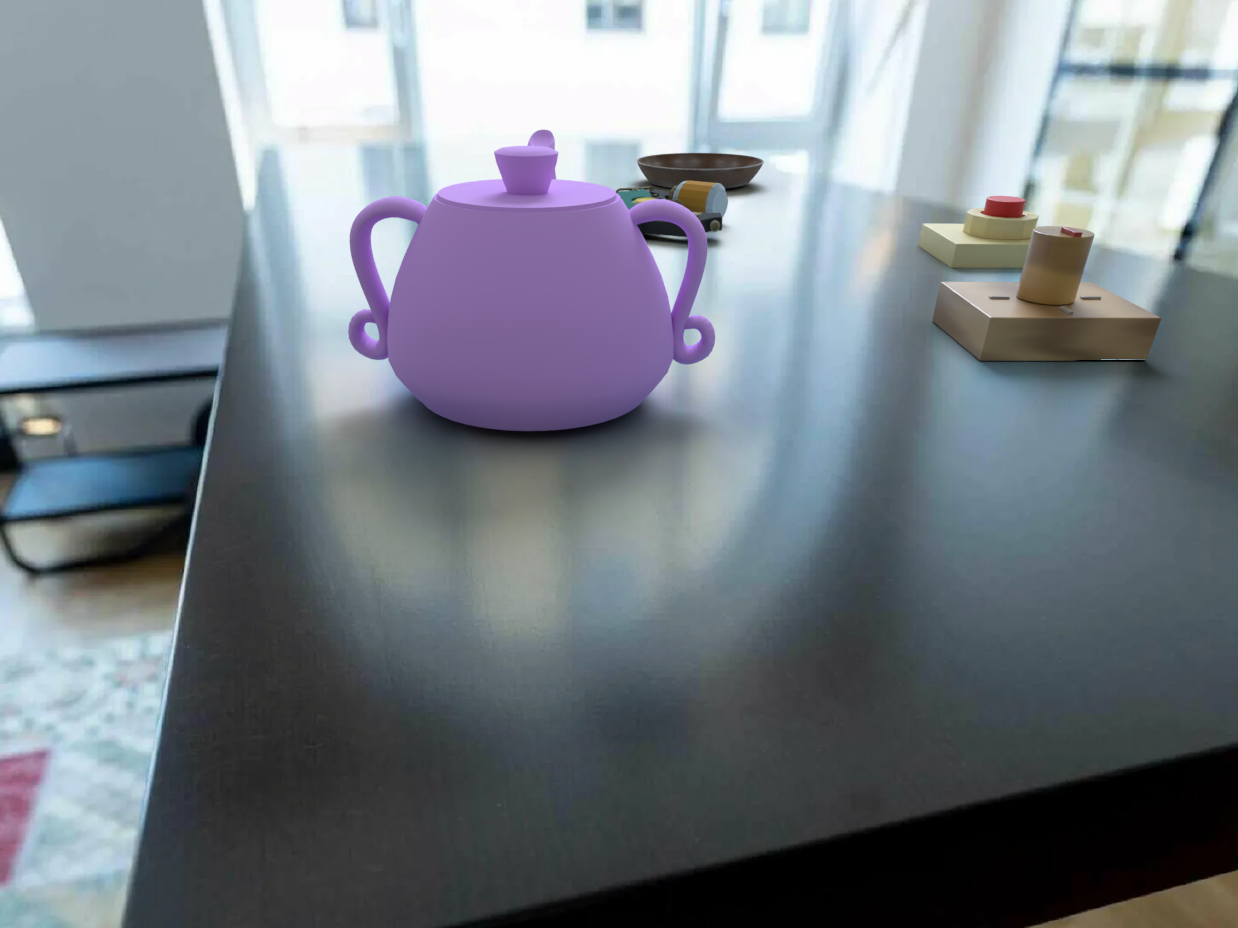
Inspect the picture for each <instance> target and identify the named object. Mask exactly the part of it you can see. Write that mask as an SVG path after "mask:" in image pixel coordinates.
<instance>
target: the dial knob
mask: <svg viewBox="0 0 1238 928" xmlns="http://www.w3.org/2000/svg"><path fill="white" fill-rule="evenodd" d="M1095 236H1096V235H1095V233H1094V232H1093V231H1090V230H1088V229H1085V228H1079V227H1071V226H1061V225H1043V226H1040V227H1036V228H1034V229H1033V232H1032V236H1031V239H1030V243H1029V247H1028V251H1027V255H1026V258H1025V262H1024V266H1023V268H1022V269H1021V273H1020V278H1019V281H1018V282H1019V285H1018V289H1017V292H1016V296H1017V297H1018V298H1020V299H1022V300H1025V301H1029V302H1033V303H1039V304H1047V305H1066V304H1071V303H1073V302H1074V301H1075V299H1076V295H1077V292H1078V289H1079V285H1080V282H1082V278H1083V275H1084V272H1085V269H1086V265H1087V262H1088V258H1089V255H1090V251H1091V248H1092V245H1093V242H1094V239H1095Z"/></svg>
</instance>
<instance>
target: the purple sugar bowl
mask: <svg viewBox="0 0 1238 928" xmlns="http://www.w3.org/2000/svg"><path fill="white" fill-rule="evenodd" d="M493 154H494V159H495V163H496V166H497V169H498V171H499V174H500V177H501V178H498V179H497V178H496V179H483V180H481V179H480V180H474V181H473V180H472V181H466V182H460V183H454V184H451V185H448V186H444V187H443V188H440V190H439V189H438V191H437V193H436V194H434V195H433V197H432V199H431V201H430V202H429V204H428V206H427V205H425V204H424V203H422V202H421V201H417V200H415V199H413V198H410V197H405V196H401V195H400V196H399V195H398V196H397V195H396V196H395V195H393V196H391V195H390V196H387V197H381V198H380V199H377V200H374V201H372V202H371V203H369V204H368V205H366V206H365V207H364V208H363V209H362V210H360V212H358V214H357V215H356V216H355V218H354V219H353V222H352V223H351V227H350V231H349V251H350V256H351V260H352V264H353V267H354V271H355V274H356V277H357V278H358V282H359V285H360V287H361V289H362V293H363V295H364V297H365V299H366V302H367V305H368V306H369V308H368V309H367V308H364V309H361V310H358V311H357V312H356V313H355V314H354V315H352V316H351V318H350V322H349V323H348V330H347V332H348V339H349V342H350V344H351V346H352V347H353V349H354V350H355V351H356V352H357V353H358V354H360V355H362V356H363V357H366V358H367V359H370V360H375V361H382V360H383V361H384V360H386V359H387V360H388V363H389V365H390V367H391V369H392V371H393V373H394V375H395V377H396V378H397V379H398V380H399V382H401V383H402V384H403V386H404V387H405V388H406V389H407V390H408V391H409V392H410V393H411V394H412V395H413V396H414V397H415V398H416V399H417V400H418V401H419V402H420V403H422V404H423V405H424V406H425V407H426V408H427V409H428V410H429V411H431V412H432V413H434V414H436V415H438V416H440V417H442V418H445V419H446V420H449V421H453V422H456V423H459V424H463V425H466V426H472V427H476V428H481V429H482V428H483V429H490V430H498V431H499V430H500V431H513V432H546V431H547V432H548V431H549V432H550V431H562V430H569V429H577V428H583V427H589V426H593V425H598V424H601V423H605V422H608V421H611V420H614V419H617V418H620V417H623V416H624V415H626V414H628V413H629V412H632V411H633V410H634V409H636V408H637V407H639V405H641V404H642V402H643V401H644V400H645V399H646V398H647V397H648V396H649V395H650V394H651V393H652V392H653V390H655V388H656V387H658V385H659V384H660V383H661V382H662V381H663V379H664V378H665V376H666V375H667V374H668V373H669V370H670V368H671V366H672V363H673V361H674V362H676V363H678V364H680V365H693V364H697V363H699V362H701V361H704V360H705V359H706V358H708V357H709V356H710V354H711V353H712V352H713V349H714V347H715V343H716V332H715V328H714V325H713V324H712V322H711V320H709V319H708V318H707V317H706V316H704V315H701V314H693V315H690V314H691V311H692V309H693V306H694V304H695V301H696V298H697V295H698V292H699V290H700V286H701V283H702V279H703V277H704V273H705V269H706V263H707V259H708V238H707V232H706V233H705V230H704V228H703V225H702V224H701V222H700V220H699V219H698V218H697V217H696V216H695V215H694V214H693V213H692V212H691V211H690V210H689V209H687V208H685V207H684V206H682V205H680V204H678V203H676V202H673V201H669V200H664V199H654V200H648V201H645V202H642V203H639V204H637V205H635V206H634V207H632V208H631V209H630V210H628V208H627V206H626V205H625V203H624V202H623V200H622V199H621V197H620V195H618V194H617V193H616V190H614V189H613V188H611V187H609V186H605V185H603V184H599V183H593V182H587V181H580V180H570V179H569V180H568V179H557V173H556V166H557V163H558V158H559V151H558V150H556V140H555V135H554V133H553V132H552V131H551V130H549V129H539V130H536V131H535V132H533V133H532V134H531V135H530V138H529V139H528V142H527V145H512V146H502V147H500V148H498V149H496V150H495V151H494V152H493ZM390 218H393V219H394V218H395V219H396V218H399V219H401V220H407V221H411V222H414V223H416V224H417V227H416V229H415V231H414V234H413V235H412V238H411V239H410V242H409V244H408V246H407V249H406V251H405V253H404V255H403V258H402V261H401V263H400V265H399V268H398V271H397V273H396V276H395V280H394V284H393V289H392V291H391V295H390V298H389V296H388V294H387V292H386V291H387V290H386V289H385V286H384V284H383V281H382V278H381V276H380V273H379V270H378V267H377V264H376V261H375V257H374V253H373V247H372V231H373V228H374V226H375V225H376V224H377V223H378V222H380V221H382V220H385V219H390ZM655 220H661V221H668V222H671V223H674V224H676V225H678V226H680V227H681V228H682V229H683V230H684V231H685V233H686V235H687V237H686V238H687V245H688V247H687V248H688V250H687V251H688V252H687V259H686V264H685V269H684V274H683V278H682V281H681V284H680V287H679V290H678V293H677V296H676V298H675V301H674V303H673V306H672V309H671V305H670V300H669V296H668V292H667V289H666V286H665V282H664V278H663V276H662V274H661V271H660V269H659V266H658V264H657V262H656V260H655V257H654V254H653V253H652V251H651V249H650V247H649V245H648V243H647V241H646V239H645V237H644V235H642V233H641V232H640V230H639V228H638V226H637V225H638V224H640V223H644V222H649V221H655ZM367 323H370V324H374V325H376V327H377V331H378V340H376V339H373V338H372V337H370V335H369V334H367V332H366V330H365V329H366V324H367ZM693 329H694V330H697V331H699V333H700V339H699V341H698V342H695V344H692V345H691V344H690V345H688V344H686V343H685V340H684V337H685V336H684V334H685V330H693Z"/></svg>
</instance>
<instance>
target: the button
mask: <svg viewBox="0 0 1238 928" xmlns="http://www.w3.org/2000/svg"><path fill="white" fill-rule="evenodd" d="M1026 203H1027V200H1026V198H1023V197H1018V196H1011V195H991V196H988V197H986V199H985V203H984V207H983V208H984V212H983V214H984V215H989V216H994V217H1004V218H1019V217H1022V215H1023V211H1025V206H1026Z"/></svg>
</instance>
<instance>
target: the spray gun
mask: <svg viewBox="0 0 1238 928" xmlns="http://www.w3.org/2000/svg"><path fill="white" fill-rule="evenodd" d="M648 190H649V191H648ZM615 192H616V193H617V194H618V195H620V197H621V199H622V200H623V202H624V203H625V205H626V206H627V208H628V210H630V209H631V208H632V207H634V206H635V205H637V204H639V203H642V202H645V201H648V200H654V199H664V200H669V201H673V202H676V203H678V204H680V205H682V206H684V207H685V208H687V209H689V210H690V211H691V212H692V213H693V214H694V215H695V216H696V217H697V218H698V219H699V220H700V222H701V224H702V225H703V228H704V230H705V233H706V234H707V233H709V232H713V233H717V232H719V231H722V230H723V218H724V216H725V214H726V213H727V209H728V205H729V198H728V194H727V191H726V189H725V188H724V186H723V185H722V184H720V183H711V182H700V181H684V182H682V183H680V184H679V185H678V186H674V187H673V188H670V191H669V192H668V191H665V190H664V191H663V190H658V189H654V187H653V186H638V187H637V186H636V187H620V188H617V189H616V190H615ZM637 226H638V228H639V230H640V232H641V233H642V235H643V236H644V235H657V236H667V237H668V236H669V237H683V238H687V235H686V233H685V231H684V230H683V229H682V228H681V227H680V226H678V225H676V224H674V223H671V222H668V221H661V220H655V221H649V222H644V223H640V224H638V225H637Z"/></svg>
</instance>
